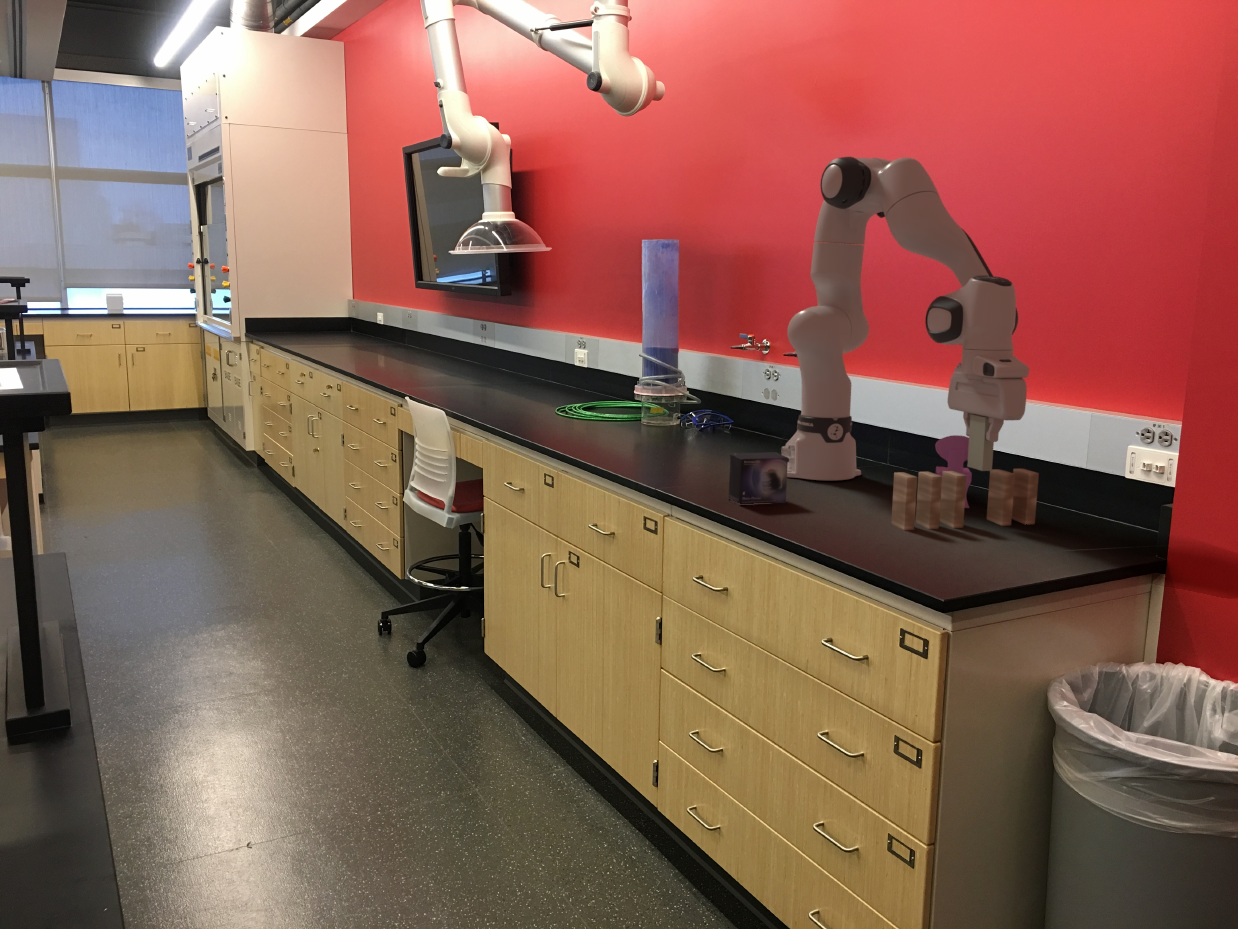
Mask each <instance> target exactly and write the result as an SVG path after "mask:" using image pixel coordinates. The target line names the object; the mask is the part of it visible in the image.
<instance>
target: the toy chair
mask: <svg viewBox="0 0 1238 929" xmlns="http://www.w3.org/2000/svg"><path fill="white" fill-rule="evenodd" d="M935 442H936V443H935V444H934V446H935V447H934V448H935V451H936V453H937V454H938V455H939V456H940V458H942V459H944V460H945V461H946V462H947V467H945V466H936V467H935V474H937V475H940V476H942V475H943V471H954V472H957V473H960V474H964V475H967V479H966V493H965V507H964V509H970V506H969V502H968V500H967V493H968V489H969V486H970V485H971V483H972V475H973V472H971V470H970V469H969V467H964V462H966V461H968V448H969V436H965V435H948V436H945V437H941V438H940V439H938V440H937V441H935ZM941 490H942V487H941ZM940 505H941V502H940Z"/></svg>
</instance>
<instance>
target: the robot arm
mask: <svg viewBox="0 0 1238 929" xmlns="http://www.w3.org/2000/svg"><path fill="white" fill-rule="evenodd" d="M820 192H821V196H822V199H823V201H822V204H821V206H820V209H819V213H818V217H817V220H816V222H817V223H816V226H815V232H814V238H813V247H812V248H813V249H812V257H811V265H810V266H811V267H810V280H811V281H812V283H813V286H814V287H815V293H816V300H817V305H816V306H810V307H807V308H805V309H803V310H800V311H799V312H797V313H795V314H794V316H792V318H791V319H790V321H789V323H788V326H787V339H788V341H789V343H790V345H791V347H792V348H793V349H794V350H795V353H796V358H797V361H798V365H799V366H798V367H799V372H800V375H801V376H800V377H801V412H800V414H799V415H798V420H797V426H796V431H795V433H794V434H793V436H792V437H791V438H790V439H789V440H788V441H787V442H786V443H785V445H784V446H781V449H780V450H781V452H780V454H781V455H783V456H785V457H788V467H787V478H793V479H794V478H796V479H797V478H798V479H805V480H811V481H813V480H814V481H815V480H816V481H844V480H850V479H854V478H855V477H857V476H861V475H862V471H861V470H860V469H858V468H857V445H856V443H857V442H856V439H855V438H854V437H853V436H852V435H851V432H852V426H853V420H852V417H853V416H851V402H852V381H851V379H850V377H849V376H848V374H847V373H848V372H847V370H846V367H845V366H846V365H845V361H844V355H843V354H848V353H851V352H852V351H853V352H854V350H856V349H857V348H860V346H862V345H863V344H864V343H865V342H866V340H867V338H869V333H870V332H869V331H870V326H869V325H870V324H869V322H868V318H867V317H866V315H865V313H864V307H863V306H864V305H863V297H862V286H861V285H862V284H861V283H862V270H863V260H864V252H865V240H866V230H867V224H868V222H869V220H870V219H871V218H872V217H873V216H874V215H876V216H878V217H879V218H880V219H881V218H882V219H883V218H885V221H886V223H887V226H888V228H889V231H890V233H891V236H892V237H893V239H894V240H895V241H896V243H897V245H899V246H900V247H901V248H903V249H904V250H906V251H908V252H911V253H913V254H916V255H920V256H923V257H925V258H929V259H931V260H934V261H936V262H939V263H940V264H942V265H944V266H946V267H947V268H948V269H949V270H950V271H952V273H953V274H954V276H955V277H956V278H957V281H958V282H959V285H960V286H961V287H960V288H959V289H956V290H955V291H952V292H949V293H947V294H944V295H940V296H936V298H934V299H933V300H932V301H931V303H930V304H929V306H928V307H927V310H926V314H925V321H924V322H925V323H924V324H925V328H926V332H927V334H928V336H929V337H930V339H931V340H932V341H933V342H935V343H937V344H941V345H947V346H948V345H949V346H954V345H955V346H958V345H959V346H962V349H961V352H962V353H961V362H960V361H959V363H958V364H957V365H956V367H955V368H954V370H953V373H952V375H951V377H950V380H949V386H948V393H947V406H948V408H949V409H950V410H953V411H959V412H963V415H962V418H963V421H964V424H965V427H966V429H965V430H966V431H965V435H966V437H969V431H970V415H971V414H977V415H982V416H987V417H989V423H991V425H990V427H989V430H988V431H986V433H985V436H986V437H985V440H986V441H989V442H994V443H996V442H998V441H999V435H1000V434H999V433H1000V432H1001V429H1002V427H1003V426H1004V421H1020V420H1021V419H1022V418H1023V417H1024V415H1025V412H1026V405H1027V391H1028V388H1027V387H1028V386H1027V382H1026V380H1025V379H1026V378H1028V376H1029V373H1030V368H1029V366H1028V365H1027V364H1026V363H1024V362H1022V361H1021V360H1020V359H1018V358H1017V357H1016V356H1015V355H1014V344H1013V339H1012V338H1013V335H1014V333H1015V332H1016V330H1017V328H1018V325H1019V311H1018V308H1017V296H1016V290H1015V286H1014V284H1013V282H1012V281H1011V280H1009V279H1008V278H1005V277H1002V276H1001V277H1000V276H994V275H993V273H992V272H991V269H990V267H989V266H988V264H987V263H986V261H985V259H984V258H983V255H982V254H981V252H980V251H979V249H978V247H977V246H976V244H975V242H974V241H973V239H972V238H971V236H970V235H969V234H968V233H967V232H966V231H965V230H964V229H963V228H962V227H961V226H960V225H959V224H958V223H957V222H956V220H955V219H954V218H953V217H952V216H951V214H950V213H949V211H948V209H947V208H946V206H945V205H944V203H943V201H942V199H941V197H940V194H939V192H938V189H937V187H936V185H935V184H934V181H933V180H932V178H931V177H930V175H929V173H928V171H927V170H926V168H925V167H924V166H923V165H922V163H921V162H920V161H918V159H915V158H912V157H900V158H896V159H894V160H888V159H884V158H877V157H871V158H870V157H854V156H841V157H838V158H835V159H832V160H830V161H829V162H828V164H827V165H826V167H825V168H824V170H823V172H822V175H821V178H820Z"/></svg>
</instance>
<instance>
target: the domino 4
mask: <svg viewBox="0 0 1238 929" xmlns="http://www.w3.org/2000/svg"><path fill="white" fill-rule="evenodd" d="M990 425H991V423H989V417H987V416H982V415H977V414H971V415H970V431H969V436H968V438H969V448H968V460H967V465H966V466H967V467H966V468H971V469H975V470H978V471H980V472H986V471H987V472H990V471H992V470H993V459H994V443H995V442H989V441H986V440H985V437H986V436H985V433H986V431H988V430H989V427H990Z"/></svg>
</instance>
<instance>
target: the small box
mask: <svg viewBox="0 0 1238 929" xmlns="http://www.w3.org/2000/svg"><path fill="white" fill-rule="evenodd" d="M729 460H730V462H729V477H728V478H729V480H728V481H729V482H728V498H730V499H732V500H733V501H735V502H737V503H740V504H754V503H785V504H786V501H787V485H788V484H787V482H788V477H787V467H788V457H785V456H783V455H782V453H779V452H776V451H767V452H766V451H765V452H742V453H741V452H740V453H735V452H733V453H730V454H729Z"/></svg>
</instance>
